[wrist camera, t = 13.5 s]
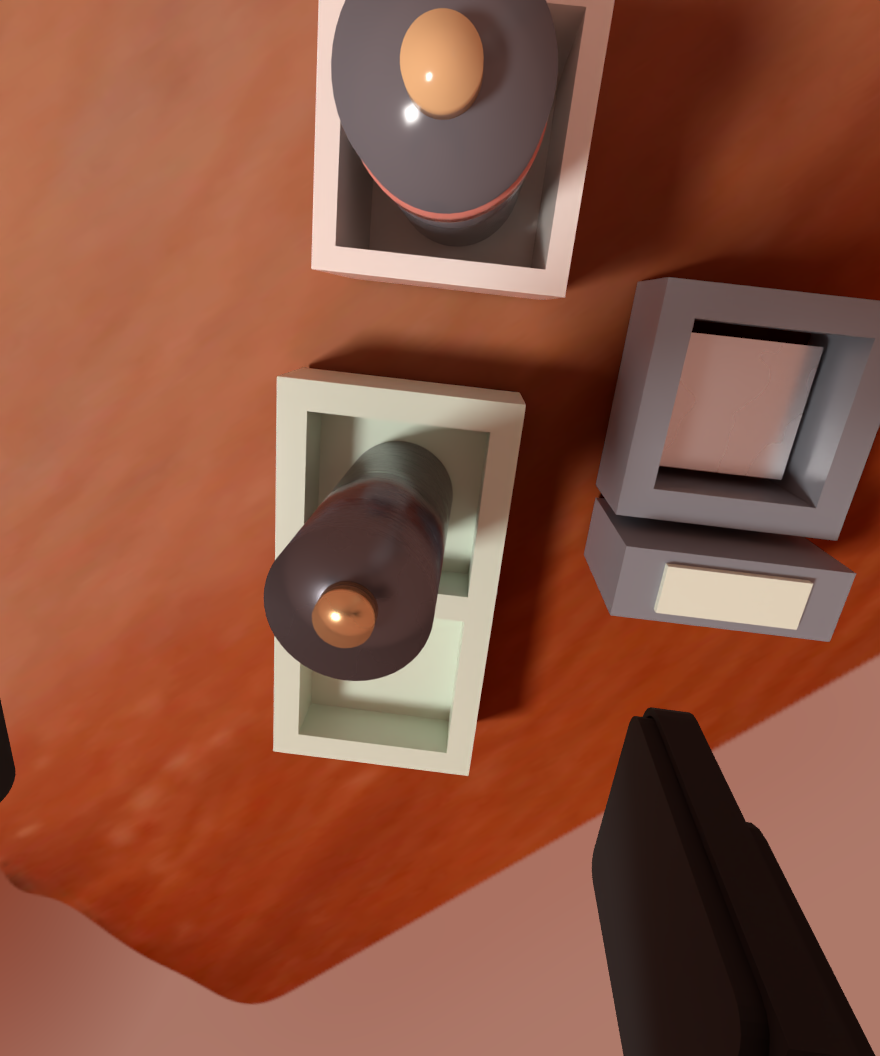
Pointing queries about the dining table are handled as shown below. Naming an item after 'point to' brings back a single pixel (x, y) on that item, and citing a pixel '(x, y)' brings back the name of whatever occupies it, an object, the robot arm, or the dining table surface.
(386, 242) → the cup
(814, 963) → the robot arm
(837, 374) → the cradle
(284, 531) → the tray
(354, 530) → the cell
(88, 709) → the dining table surface
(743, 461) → the pad
